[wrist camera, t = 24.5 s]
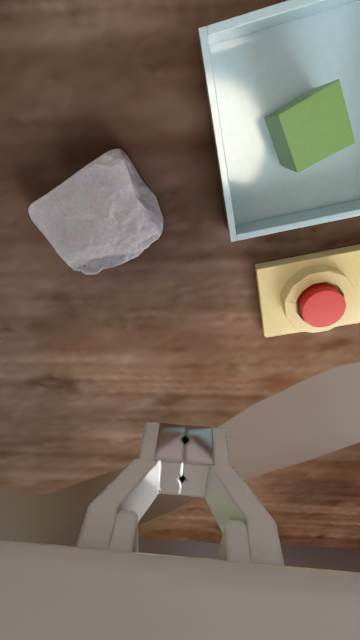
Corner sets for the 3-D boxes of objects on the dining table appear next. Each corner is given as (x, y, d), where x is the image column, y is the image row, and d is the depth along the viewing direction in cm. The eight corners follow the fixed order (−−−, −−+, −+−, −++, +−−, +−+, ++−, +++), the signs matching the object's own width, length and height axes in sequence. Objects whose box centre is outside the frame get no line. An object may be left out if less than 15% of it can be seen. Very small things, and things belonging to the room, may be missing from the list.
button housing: (262, 330, 41) (267, 346, 38) (254, 264, 37) (259, 275, 34) (362, 314, 39) (376, 329, 36) (366, 242, 35) (382, 253, 32)
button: (298, 322, 37) (303, 330, 35) (296, 287, 35) (301, 294, 33) (339, 315, 36) (345, 323, 35) (340, 279, 34) (346, 286, 33)
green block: (281, 166, 31) (297, 173, 26) (263, 117, 29) (277, 114, 24) (328, 140, 30) (355, 142, 25) (313, 88, 28) (339, 78, 23)
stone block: (174, 220, 37) (118, 134, 31) (174, 240, 33) (111, 147, 27) (92, 267, 40) (30, 199, 35) (85, 290, 37) (13, 218, 31)
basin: (227, 230, 35) (231, 242, 31) (198, 42, 27) (198, 27, 24) (372, 199, 33) (394, 208, 29) (385, -15, 25) (417, -41, 21)
